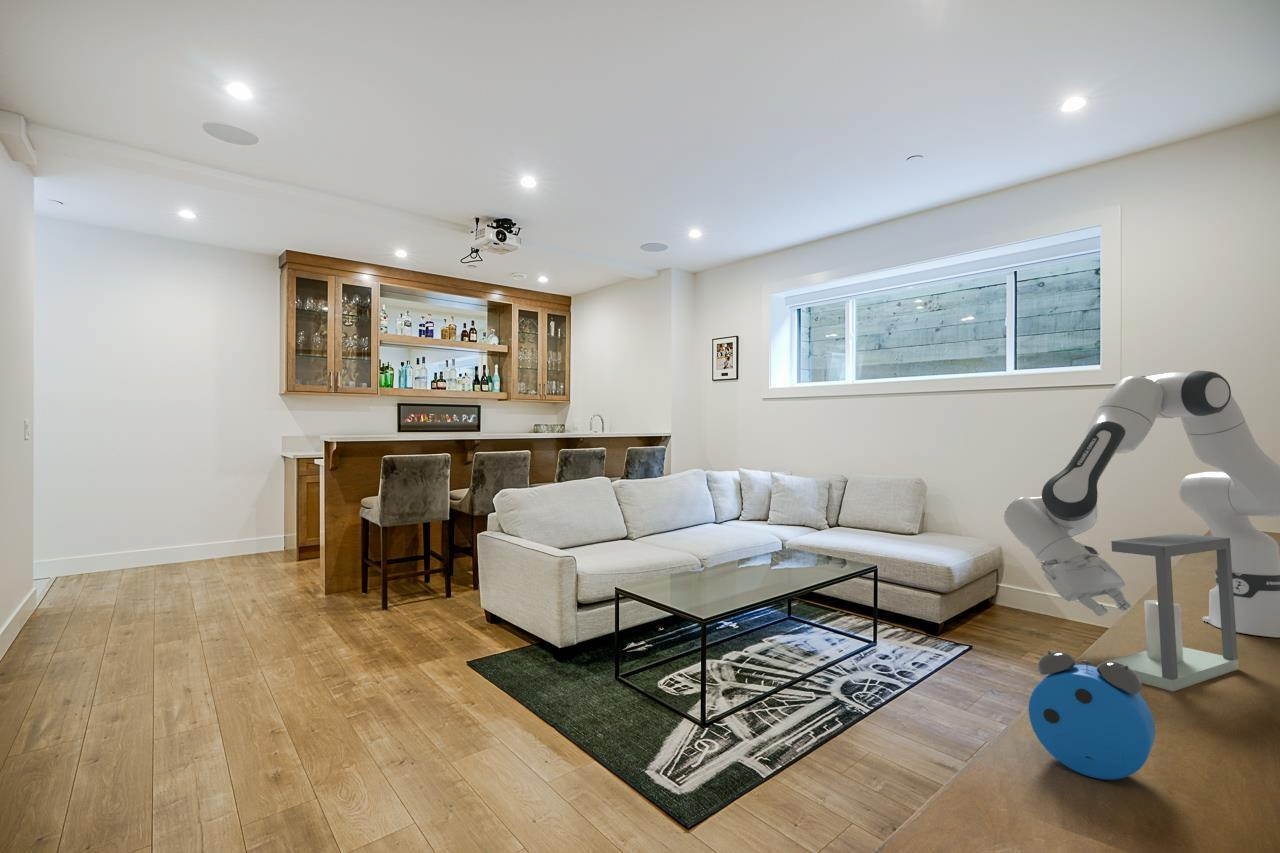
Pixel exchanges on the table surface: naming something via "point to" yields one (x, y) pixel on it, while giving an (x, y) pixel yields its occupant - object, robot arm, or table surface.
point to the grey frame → (1195, 661)
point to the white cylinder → (1154, 631)
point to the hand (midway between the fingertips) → (1116, 611)
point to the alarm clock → (1092, 716)
